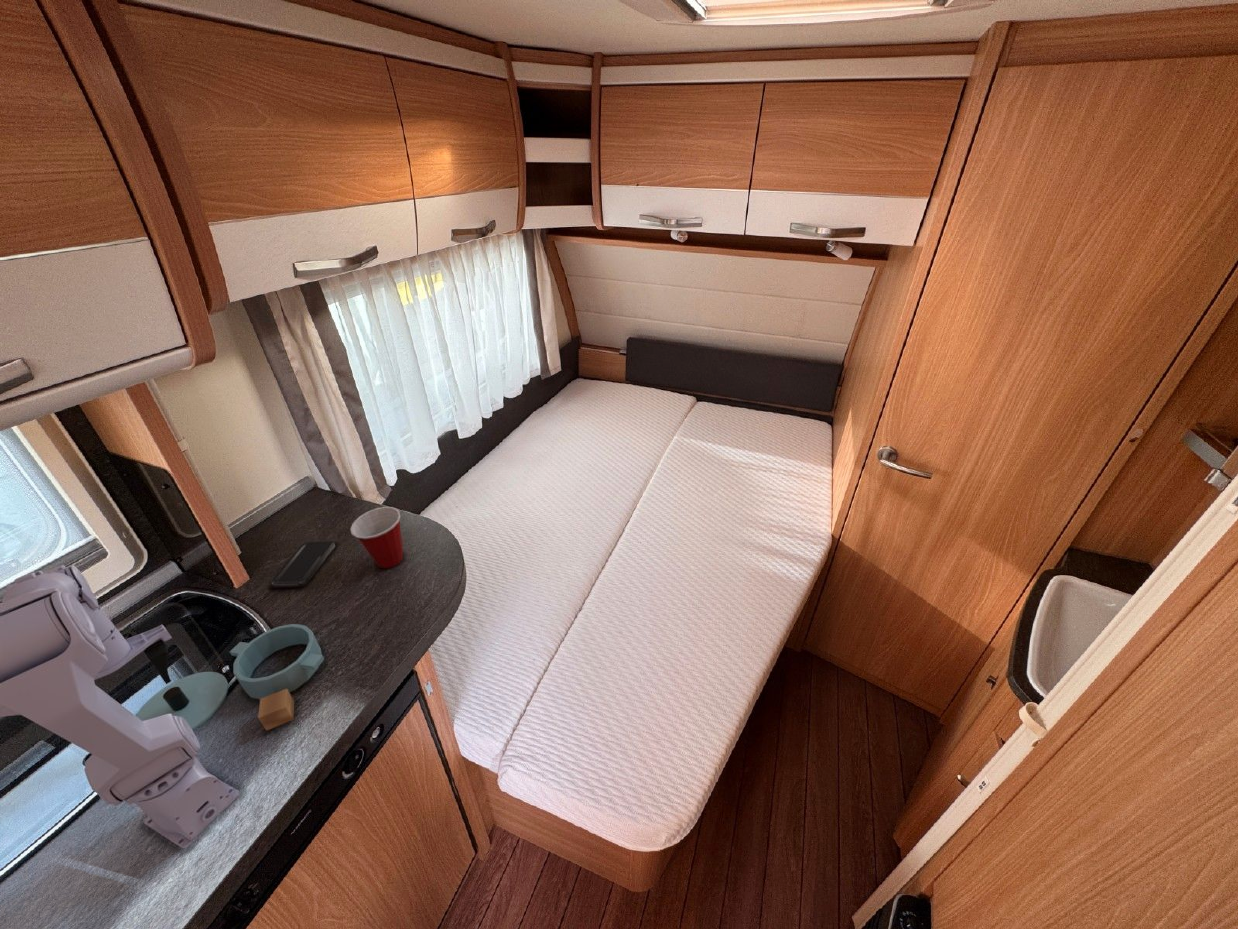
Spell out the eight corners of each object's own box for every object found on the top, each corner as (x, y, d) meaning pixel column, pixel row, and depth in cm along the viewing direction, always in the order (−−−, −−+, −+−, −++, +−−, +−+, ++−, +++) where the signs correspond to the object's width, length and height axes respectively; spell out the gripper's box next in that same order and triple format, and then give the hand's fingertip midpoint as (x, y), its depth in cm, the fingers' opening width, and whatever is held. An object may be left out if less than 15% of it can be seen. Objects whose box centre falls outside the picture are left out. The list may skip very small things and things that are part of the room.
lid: (179, 754, 82) (165, 737, 80) (113, 739, 85) (98, 723, 83) (248, 681, 94) (237, 665, 91) (187, 670, 96) (176, 654, 94)
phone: (268, 584, 114) (304, 541, 127) (270, 588, 115) (306, 545, 127) (303, 583, 114) (335, 540, 127) (305, 587, 114) (337, 544, 127)
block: (295, 703, 89) (287, 688, 87) (294, 721, 86) (285, 707, 84) (269, 713, 88) (260, 698, 86) (267, 732, 85) (257, 718, 83)
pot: (302, 709, 88) (290, 689, 86) (216, 692, 92) (202, 673, 89) (349, 650, 99) (340, 630, 96) (270, 637, 102) (260, 618, 100)
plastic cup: (358, 560, 122) (342, 520, 116) (402, 540, 128) (389, 500, 122) (374, 583, 115) (358, 542, 109) (420, 560, 121) (408, 520, 115)
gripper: (142, 596, 81) (182, 654, 88) (14, 659, 71) (71, 719, 78) (156, 615, 77) (197, 674, 84) (24, 684, 67) (82, 744, 74)
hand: (138, 697), depth 81 cm, fingers open, 7 cm apart
